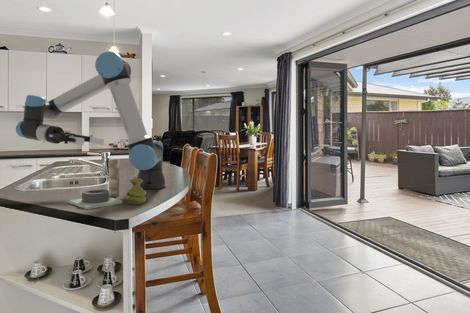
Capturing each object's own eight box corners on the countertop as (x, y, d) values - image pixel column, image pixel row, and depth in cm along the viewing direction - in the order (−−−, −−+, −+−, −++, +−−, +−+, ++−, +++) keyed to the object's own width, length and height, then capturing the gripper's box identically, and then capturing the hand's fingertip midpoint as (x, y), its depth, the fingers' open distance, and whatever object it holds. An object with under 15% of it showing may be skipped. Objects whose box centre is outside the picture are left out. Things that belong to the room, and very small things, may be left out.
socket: (103, 197, 133) (103, 187, 132) (122, 203, 124) (122, 191, 124) (68, 203, 122) (68, 191, 121) (86, 209, 113) (86, 196, 113)
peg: (115, 194, 140) (115, 158, 138) (121, 196, 137) (121, 159, 136) (106, 196, 136) (106, 158, 135) (112, 197, 134) (112, 159, 132)
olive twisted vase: (140, 199, 131) (140, 175, 131) (149, 202, 126) (149, 177, 125) (123, 202, 126) (123, 177, 126) (131, 205, 121) (131, 179, 120)
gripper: (69, 142, 153) (109, 149, 149) (26, 142, 129) (72, 151, 125) (71, 127, 153) (111, 134, 149) (28, 123, 128) (75, 132, 124)
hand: (93, 141), depth 137 cm, fingers open, 13 cm apart
